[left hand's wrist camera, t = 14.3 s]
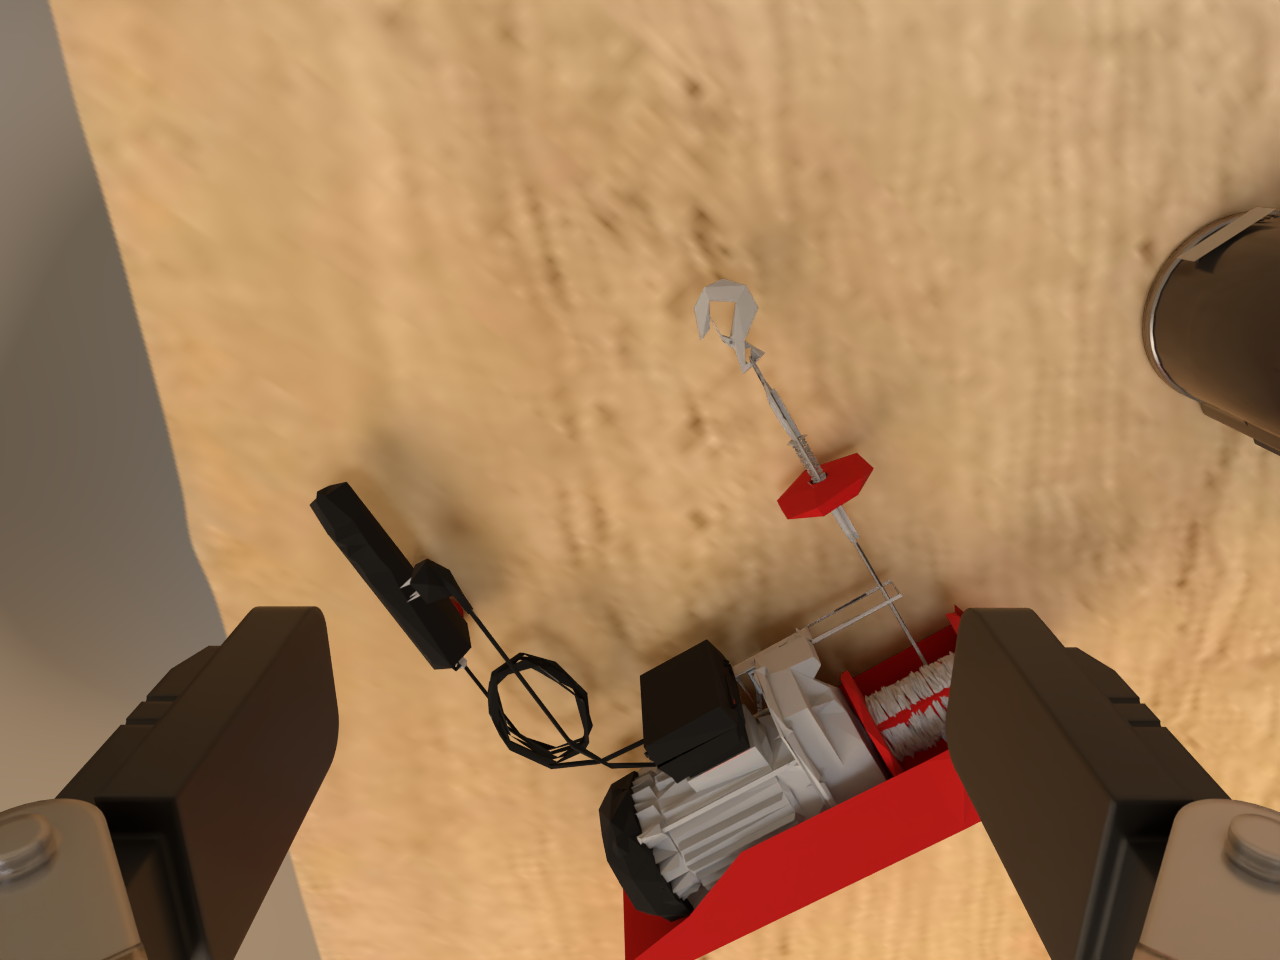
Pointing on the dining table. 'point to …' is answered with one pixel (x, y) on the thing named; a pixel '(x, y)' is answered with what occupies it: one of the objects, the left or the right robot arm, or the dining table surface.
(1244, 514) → the dining table surface
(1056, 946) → the left robot arm
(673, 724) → the electric hoist
